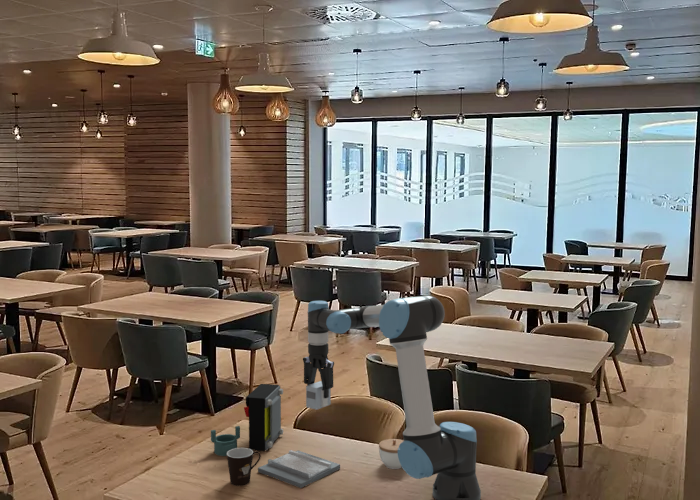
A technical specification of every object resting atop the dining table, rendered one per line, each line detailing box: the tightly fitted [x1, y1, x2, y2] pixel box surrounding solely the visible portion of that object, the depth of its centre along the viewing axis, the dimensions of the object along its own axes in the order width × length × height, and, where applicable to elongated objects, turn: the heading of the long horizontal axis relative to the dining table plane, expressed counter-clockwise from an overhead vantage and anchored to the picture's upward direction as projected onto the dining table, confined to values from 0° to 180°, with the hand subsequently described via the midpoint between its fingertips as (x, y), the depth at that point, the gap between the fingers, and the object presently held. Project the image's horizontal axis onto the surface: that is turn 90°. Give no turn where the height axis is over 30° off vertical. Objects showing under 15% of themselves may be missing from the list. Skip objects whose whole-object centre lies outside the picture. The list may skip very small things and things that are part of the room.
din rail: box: [267, 449, 331, 479], centre depth 239 cm, size 19×12×2 cm, turn 51°
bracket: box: [210, 425, 241, 457], centre depth 255 cm, size 9×9×9 cm
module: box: [305, 380, 332, 411], centre depth 256 cm, size 5×8×8 cm, turn 142°
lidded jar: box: [378, 438, 404, 470], centre depth 243 cm, size 11×11×9 cm
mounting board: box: [257, 450, 341, 489], centre depth 239 cm, size 20×20×2 cm
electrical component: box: [243, 383, 284, 452], centre depth 264 cm, size 18×10×20 cm, turn 168°
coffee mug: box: [226, 447, 262, 487], centre depth 229 cm, size 12×9×10 cm
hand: (318, 404), depth 257 cm, fingers closed on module, 5 cm apart
